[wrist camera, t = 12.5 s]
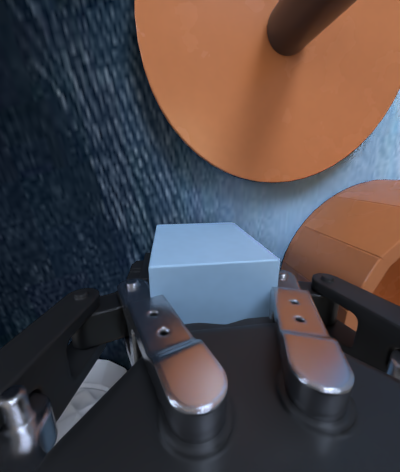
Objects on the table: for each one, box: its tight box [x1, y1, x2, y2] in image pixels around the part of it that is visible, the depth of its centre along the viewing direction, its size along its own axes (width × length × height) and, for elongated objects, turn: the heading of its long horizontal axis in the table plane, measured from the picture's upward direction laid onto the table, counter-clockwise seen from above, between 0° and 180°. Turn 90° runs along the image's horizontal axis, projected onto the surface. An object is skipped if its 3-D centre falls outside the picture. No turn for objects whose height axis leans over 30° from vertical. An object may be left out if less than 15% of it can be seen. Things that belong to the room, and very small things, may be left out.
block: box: [148, 222, 280, 325], centre depth 12 cm, size 5×5×6 cm
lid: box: [135, 0, 400, 183], centre depth 10 cm, size 16×16×6 cm
